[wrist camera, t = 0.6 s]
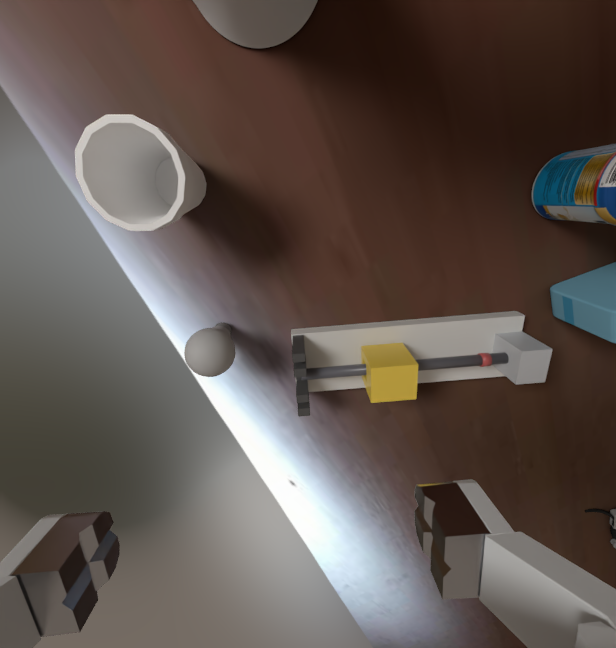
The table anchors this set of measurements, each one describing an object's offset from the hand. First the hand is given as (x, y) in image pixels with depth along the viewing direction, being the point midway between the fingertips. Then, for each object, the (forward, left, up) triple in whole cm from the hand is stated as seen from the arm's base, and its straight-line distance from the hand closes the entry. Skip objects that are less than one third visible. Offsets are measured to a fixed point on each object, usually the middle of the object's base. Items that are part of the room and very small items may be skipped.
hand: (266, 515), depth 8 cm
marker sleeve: (+15, +12, -35) cm, 40 cm away
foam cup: (-11, -13, -38) cm, 42 cm away
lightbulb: (+9, -11, -38) cm, 41 cm away
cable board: (+15, +16, -38) cm, 44 cm away
